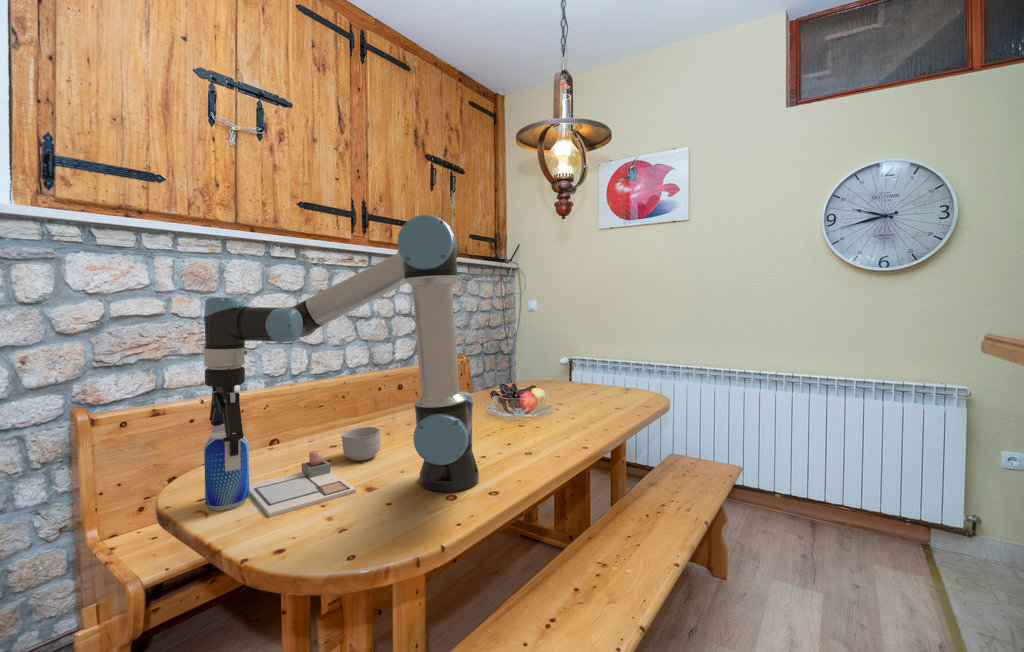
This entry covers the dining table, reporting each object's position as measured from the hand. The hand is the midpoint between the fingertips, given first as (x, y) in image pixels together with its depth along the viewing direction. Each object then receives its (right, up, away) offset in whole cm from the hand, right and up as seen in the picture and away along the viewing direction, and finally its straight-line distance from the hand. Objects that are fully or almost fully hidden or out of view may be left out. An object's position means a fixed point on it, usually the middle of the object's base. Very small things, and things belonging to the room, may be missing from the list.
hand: (225, 461), depth 101 cm
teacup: (+20, -9, +33) cm, 40 cm away
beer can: (0, -10, +1) cm, 10 cm away
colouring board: (+13, -10, +8) cm, 18 cm away
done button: (+13, -6, +17) cm, 22 cm away
